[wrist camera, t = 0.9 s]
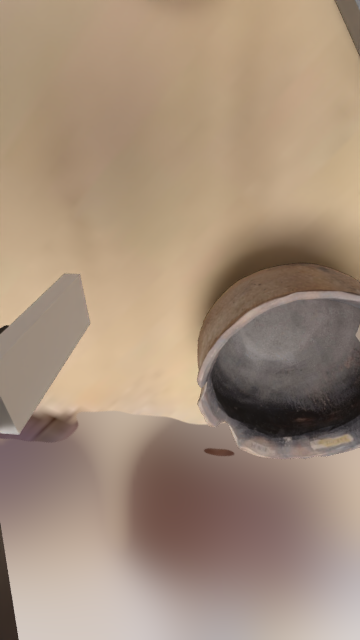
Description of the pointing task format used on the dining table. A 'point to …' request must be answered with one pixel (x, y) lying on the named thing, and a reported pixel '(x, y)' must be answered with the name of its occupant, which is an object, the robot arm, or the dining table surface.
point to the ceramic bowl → (284, 362)
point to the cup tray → (351, 18)
